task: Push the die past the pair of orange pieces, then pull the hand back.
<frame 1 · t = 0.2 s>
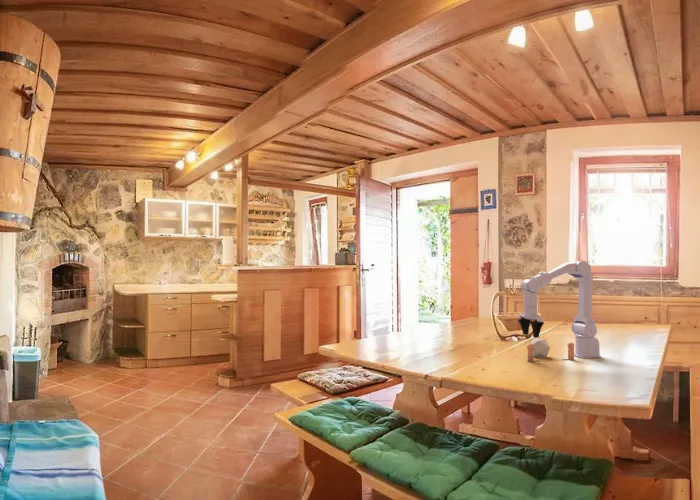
hand: (530, 335, 192), 10 cm above the table, fingers open, 7 cm apart
die: (539, 357, 194), on the table
pair of orange pieces: (551, 360, 187), on the table
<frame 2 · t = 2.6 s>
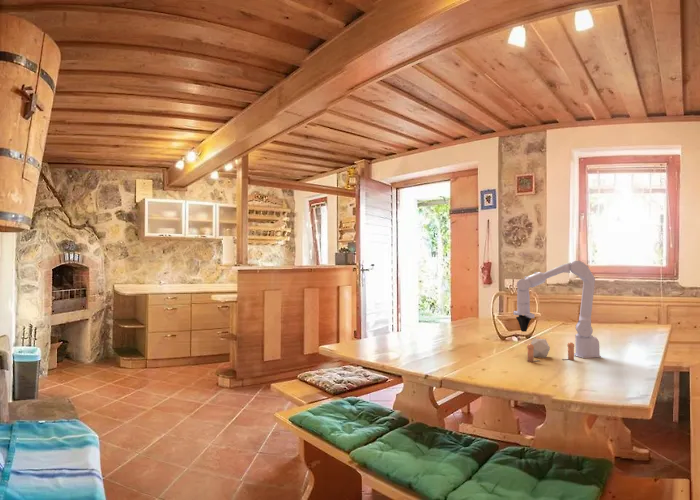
hand: (523, 331, 207), 10 cm above the table, fingers closed
nothing on the table moved.
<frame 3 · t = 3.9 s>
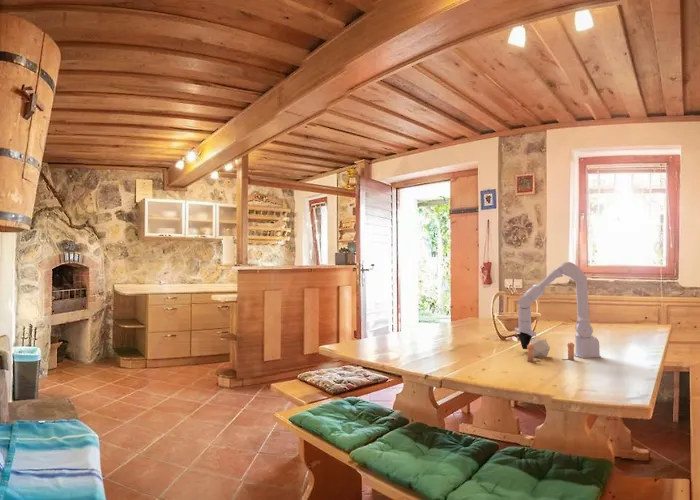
hand: (525, 348, 205), 1 cm above the table, fingers closed
nothing on the table moved.
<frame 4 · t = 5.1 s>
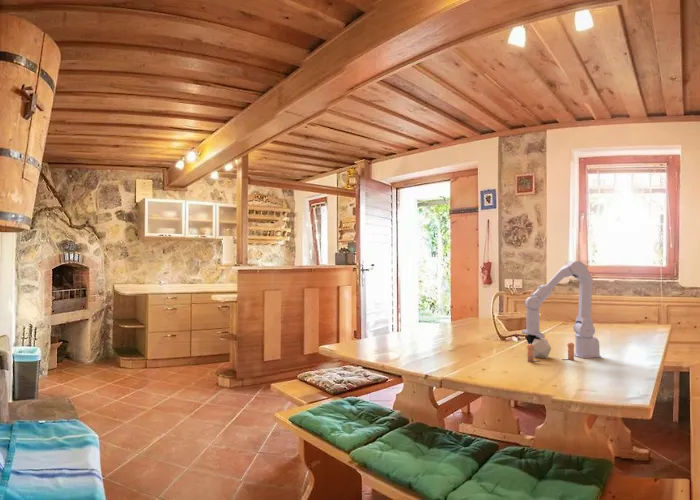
hand: (533, 351, 199), 1 cm above the table, fingers closed
die: (540, 357, 194), on the table, touching gripper
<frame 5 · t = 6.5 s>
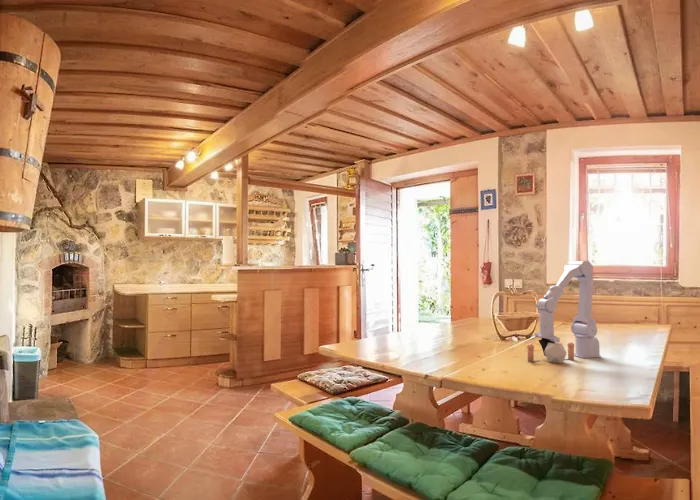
hand: (547, 356, 189), 1 cm above the table, fingers closed
die: (555, 362, 184), on the table, touching gripper
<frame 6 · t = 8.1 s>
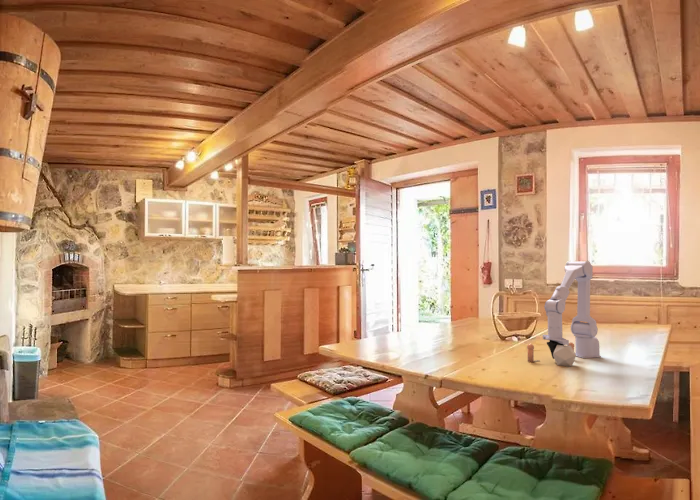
hand: (555, 358, 184), 1 cm above the table, fingers closed
die: (564, 365, 178), on the table, touching gripper
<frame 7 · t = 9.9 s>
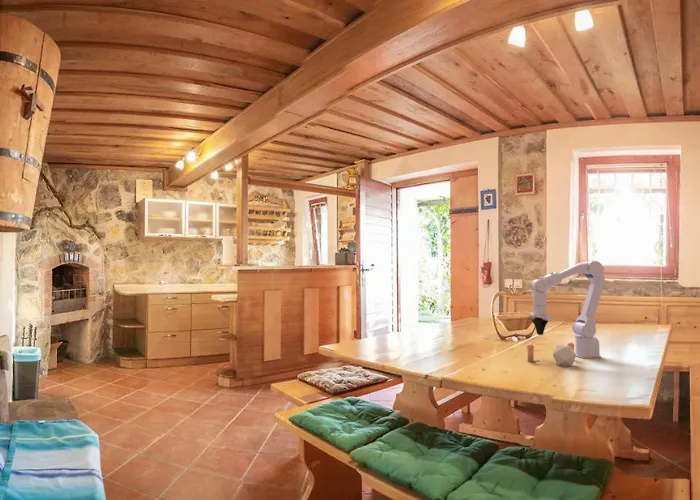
hand: (540, 334, 196), 10 cm above the table, fingers closed
die: (564, 365, 178), on the table
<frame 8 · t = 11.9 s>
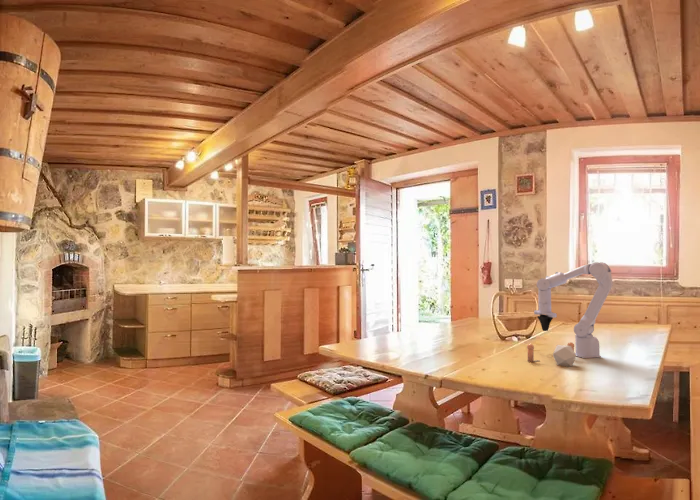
hand: (545, 330, 208), 10 cm above the table, fingers closed
nothing on the table moved.
at the end: die inside the target area (8.2 cm from its centre), on the table; die moved 16.6 cm from its start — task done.
